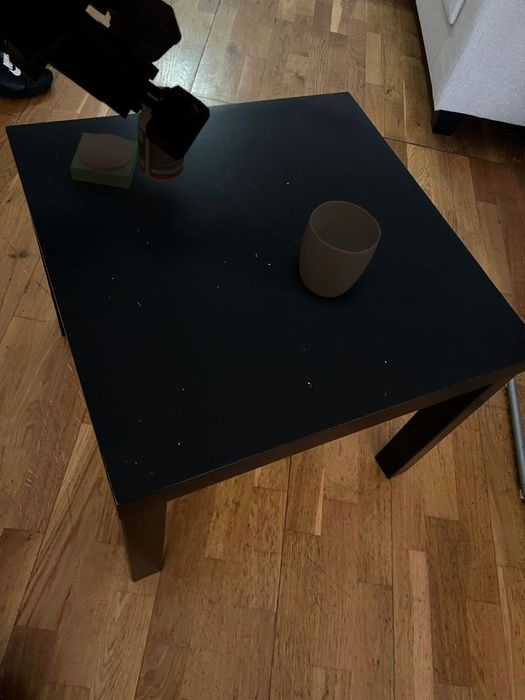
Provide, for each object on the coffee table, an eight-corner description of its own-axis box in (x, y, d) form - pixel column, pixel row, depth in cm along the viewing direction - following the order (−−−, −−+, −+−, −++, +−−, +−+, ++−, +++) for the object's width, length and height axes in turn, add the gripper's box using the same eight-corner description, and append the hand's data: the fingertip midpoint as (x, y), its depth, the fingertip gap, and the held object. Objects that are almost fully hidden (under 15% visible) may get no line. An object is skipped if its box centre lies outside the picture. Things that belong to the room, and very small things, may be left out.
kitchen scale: (70, 179, 76) (68, 163, 73) (83, 144, 80) (81, 128, 78) (129, 189, 77) (128, 173, 74) (139, 154, 81) (138, 137, 79)
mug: (344, 315, 70) (369, 264, 62) (282, 287, 71) (298, 233, 63) (371, 255, 78) (397, 201, 69) (314, 230, 78) (333, 174, 70)
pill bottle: (191, 167, 71) (196, 97, 63) (167, 189, 68) (170, 119, 60) (154, 149, 72) (155, 77, 64) (129, 170, 69) (127, 98, 61)
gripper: (205, 21, 46) (265, 100, 61) (67, -69, 51) (154, 24, 66) (135, 133, 49) (210, 183, 63) (10, 36, 54) (106, 103, 68)
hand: (170, 120), depth 65 cm, fingers closed on pill bottle, 6 cm apart
